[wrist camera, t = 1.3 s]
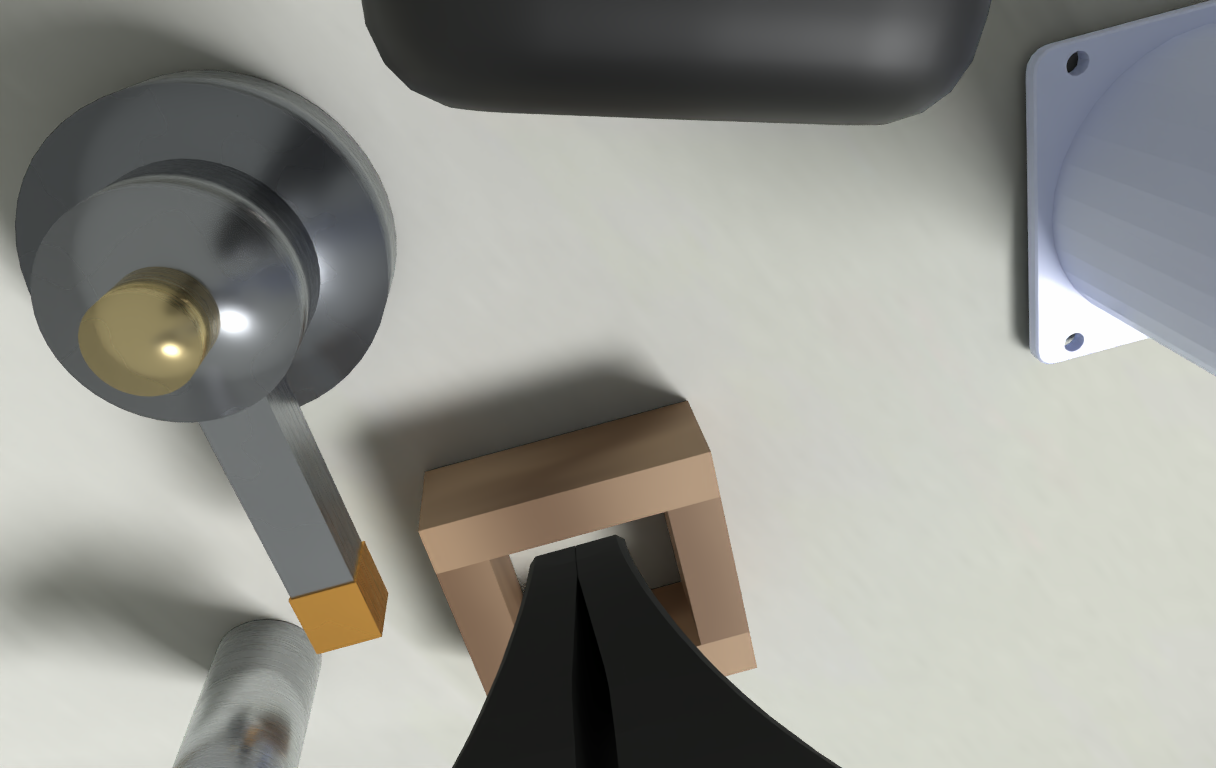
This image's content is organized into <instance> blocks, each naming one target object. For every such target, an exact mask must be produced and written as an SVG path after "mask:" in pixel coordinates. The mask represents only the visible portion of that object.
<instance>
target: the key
mask: <svg viewBox="0 0 1216 768" xmlns="http://www.w3.org/2000/svg"><path fill="white" fill-rule="evenodd" d="M321 662H322V656H321V654H316V652H315V650H314V648H313V646H312V644H311V642H310V640H309V639H308V637H307V635H306V633H305V631H304V630H303V629H301V628H299V627H297V626H295V625H293V624H290V623H287V622H284V621H278V620H256V621H251V622H247V623H244V624H242V625H239V626H237V627H236V628H234V629H232V630H231V631H230V632H229V633H227V634H226V635H225V637H224V638H223V639H222V641H221V642H220V644H219V647H218V649H217V652H216V654H215V657H214V660H213V662H212V665H211V668H210V670H209V673H208V675H207V678H206V681H205V683H204V686H203V689H202V691H201V694H200V696H199V699H198V702H197V704H196V707H195V710H194V712H193V715H192V718H191V720H190V723H189V725H188V728H187V731H186V733H185V736H184V739H183V741H182V744H181V746H180V749H179V752H178V754H177V757H176V760H175V762H174V765H173V768H298V765H299V761H300V756H301V752H302V748H303V743H304V739H305V734H306V730H307V726H308V721H309V717H310V712H311V708H312V703H313V699H314V695H315V690H316V686H317V681H318V677H319V673H320V668H321Z"/></svg>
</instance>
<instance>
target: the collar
mask: <svg viewBox="0 0 1216 768" xmlns="http://www.w3.org/2000/svg"><path fill="white" fill-rule="evenodd" d="M155 266H156V267H167V268H172V269H176V270H179V271H181V272H184V273H186V274H188V275H190V276H192V277H193V278H194V279H196V280H197V281H199V282H200V283H201V284H202V285H203V286H204V287H205V288H206V289H207V290H208V291H209V292H210V294H211V295H212V296H213V298H214V300H215V302H216V304H217V306H218V309H219V313H220V319H221V326H220V332H219V335H218V338H217V340H216V342H215V344H214V345H213V347H212V348H211V350H210V351H209V353H208V354H207V356H206V357H205V358H204V360H203V361H202V363H201V364H200V366H199V367H198V369H197V370H196V372H195V373H194V375H193V376H192V377H191V379H190V380H189V381H188V382H187V383H186V384H185V385H184V386H182V387H181V388H179V389H177V390H175V391H173V392H171V393H168V394H165V395H160V396H151V397H150V396H137V395H132V394H128V393H125V392H122V391H120V390H117V389H115V388H113V387H111V386H110V385H108V384H106V383H105V382H104V381H102V380H101V379H100V378H99V377H98V376H97V375H96V374H94V372H93V371H92V370H91V369H90V368H89V366H88V365H87V363H86V362H85V360H84V358H83V356H82V354H81V351H80V347H79V342H78V332H79V326H80V323H81V320H82V318H83V316H84V315H85V313H86V312H87V311H88V309H89V308H90V307H92V306H93V305H94V304H95V303H96V302H97V301H98V300H99V299H100V298H101V297H102V296H103V295H105V294H106V293H107V292H108V291H109V290H110V289H111V288H112V287H113V286H114V285H116V284H117V283H118V282H119V281H120V280H121V279H122V278H123V277H125V276H126V275H127V274H129V273H131V272H133V271H135V270H138V269H141V268H146V267H155ZM319 293H320V268H319V263H318V258H317V254H316V251H315V248H314V245H313V242H312V240H311V238H310V236H309V234H308V232H307V230H306V228H305V226H304V225H303V223H302V222H301V220H300V219H299V217H298V216H297V214H296V213H295V212H294V211H293V210H292V209H291V207H290V206H289V205H288V204H287V203H286V202H285V201H284V200H283V199H282V198H281V197H280V196H279V195H278V194H277V193H276V192H274V191H273V190H272V189H270V188H269V187H268V186H266V185H265V184H264V183H262V182H260V181H259V180H257V179H255V178H254V177H252V176H250V175H248V174H246V173H244V172H242V171H239V170H237V169H235V168H233V167H229V166H226V165H223V164H220V163H216V162H211V161H206V160H200V159H168V160H163V161H158V162H153V163H150V164H147V165H144V166H141V167H138V168H136V169H134V170H133V171H131V172H129V173H127V174H125V175H123V176H122V177H120V178H118V179H117V180H115V181H114V182H112V183H111V184H109V185H107V186H106V187H104V188H103V189H101V190H99V191H98V192H96V193H95V194H93V195H91V196H90V197H88V198H87V199H85V200H83V201H82V202H80V203H79V204H77V205H76V206H74V207H73V208H72V209H70V210H69V211H67V212H66V213H65V214H63V215H62V216H61V217H60V218H59V219H58V220H57V221H56V222H55V223H54V224H53V225H52V227H51V228H50V230H49V231H48V232H47V234H46V235H45V237H44V238H43V240H42V242H41V244H40V246H39V248H38V250H37V253H36V256H35V260H34V263H33V267H32V274H31V300H32V305H33V310H34V315H35V318H36V320H37V323H38V326H39V329H40V331H41V333H42V335H43V337H44V339H45V341H46V343H47V345H48V346H49V348H50V349H51V351H52V352H53V354H54V355H55V357H56V358H57V360H58V361H59V362H60V363H61V364H62V365H63V367H64V368H65V369H66V370H67V371H68V372H69V373H70V374H71V375H72V376H73V377H74V378H75V379H76V380H77V381H78V382H80V383H81V384H82V385H83V386H85V387H86V388H87V389H89V390H90V391H91V392H93V393H94V394H95V395H97V396H99V397H100V398H102V399H104V400H106V401H107V402H109V403H111V404H113V405H115V406H117V407H119V408H122V409H124V410H126V411H129V412H132V413H135V414H137V415H140V416H144V417H148V418H152V419H157V420H163V421H170V422H199V424H200V426H201V428H202V430H203V432H204V434H205V436H206V438H207V439H208V441H209V443H210V445H211V447H212V449H213V451H214V453H215V455H216V457H217V458H218V460H219V462H220V464H221V466H222V468H223V470H224V472H225V474H226V476H227V478H228V479H229V481H230V483H231V485H232V487H233V489H234V491H235V493H236V495H237V497H238V498H239V500H240V502H241V504H242V506H243V508H244V510H245V512H246V514H247V516H248V517H249V519H250V521H251V523H252V525H253V527H254V529H255V531H256V533H257V535H258V536H259V538H260V540H261V542H262V544H263V546H264V548H265V550H266V552H267V554H268V555H269V557H270V559H271V561H272V563H273V565H274V567H275V569H276V571H277V573H278V574H279V576H280V578H281V580H282V582H283V584H284V586H285V588H286V590H287V592H288V593H289V595H290V598H289V603H290V605H291V606H292V608H293V610H294V612H295V614H296V616H297V618H298V620H299V622H300V623H301V625H302V627H303V629H304V631H305V633H306V635H307V637H308V639H309V640H310V642H311V644H312V646H313V648H314V650H315V652H316V654H321V653H324V652H328V651H332V650H335V649H339V648H342V647H346V646H350V645H353V644H357V643H361V642H364V641H368V640H372V639H375V638H379V637H382V632H383V625H384V619H385V612H386V605H387V598H388V592H387V589H386V587H385V585H384V583H383V581H382V578H381V576H380V574H379V572H378V570H377V568H376V565H375V563H374V561H373V559H372V557H371V554H370V552H369V550H368V548H367V546H366V543H365V541H363V542H361V540H360V537H359V535H358V533H357V531H356V529H355V527H354V524H353V522H352V520H351V518H350V516H349V513H348V511H347V509H346V507H345V505H344V503H343V500H342V498H341V496H340V494H339V492H338V490H337V487H336V485H335V483H334V481H333V479H332V476H331V474H330V472H329V470H328V468H327V466H326V463H325V461H324V459H323V457H322V455H321V453H320V450H319V448H318V446H317V444H316V442H315V439H314V437H313V435H312V433H311V431H310V429H309V426H308V424H307V422H306V420H305V418H304V416H303V413H302V411H301V409H300V407H299V405H298V402H297V400H296V398H295V396H294V394H293V392H292V389H291V387H290V385H289V383H288V381H287V379H286V376H285V374H286V372H287V371H288V369H289V367H290V366H291V363H292V361H293V359H294V357H295V355H296V353H297V350H298V348H299V346H300V344H301V342H302V340H303V337H304V335H305V333H306V331H307V329H308V327H309V325H310V322H311V320H312V318H313V315H314V313H315V310H316V307H317V303H318V299H319Z"/></svg>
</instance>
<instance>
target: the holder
mask: <svg viewBox="0 0 1216 768" xmlns="http://www.w3.org/2000/svg"><path fill="white" fill-rule="evenodd" d="M663 512H664V515H665V519H666V523H667V527H668V531H669V535H670V539H671V543H672V547H673V550H674V554H675V558H676V562H677V566H678V570H679V574H680V578H681V582H678V583H674V584H671V585H667V586H663V587H660V588H656V589H652V590H651V591H652V592H653V594H654V595H655V597H656V598H657V599H658V601H659V602H660V603H661V605H662V606H663V607H664V608H665V610H666V611H667V612H668V614H669V615H670V616H671V617H672V619H673V620H674V621H675V623H676V624H677V625H678V626H679V627H680V629H681V630H682V631H683V632H684V633H685V635H686V636H687V637H688V638H689V639H690V640H691V641H692V642H693V644H694V645H695V646H696V647H697V648H698V649H699V650H700V651H701V652H702V653H703V655H704V656H705V657H706V658H707V659H708V660H709V661H710V662H711V663H712V664H713V665H714V666H715V667H716V668H717V669H718V670H719V671H720V672H721V673H722V674H723V675H724V676H728V675H732V674H735V673H739V672H743V671H746V670H750V669H754V668H757V665H756V660H755V656H754V651H753V646H752V642H751V637H750V632H749V628H748V623H747V618H746V614H745V609H744V604H743V600H742V595H741V590H740V586H739V581H738V576H737V572H736V567H735V562H734V558H733V553H732V548H731V544H730V539H729V534H728V530H727V525H726V520H725V516H724V511H723V506H722V502H721V497H720V492H719V488H718V483H717V479H716V474H715V469H714V465H713V460H712V455H711V451H710V449H709V447H708V445H707V442H706V440H705V438H704V436H703V433H702V431H701V429H700V427H699V425H698V422H697V420H696V418H695V416H694V414H693V411H692V409H691V407H690V405H689V403H688V401H684V402H680V403H677V404H673V405H669V406H665V407H662V408H658V409H654V410H651V411H647V412H643V413H640V414H636V415H632V416H629V417H625V418H621V419H618V420H614V421H610V422H607V423H603V424H599V425H596V426H592V427H588V428H585V429H581V430H577V431H574V432H570V433H566V434H562V435H559V436H555V437H551V438H548V439H544V440H540V441H537V442H533V443H529V444H526V445H522V446H518V447H515V448H511V449H507V450H504V451H500V452H496V453H493V454H489V455H485V456H482V457H478V458H474V459H471V460H467V461H463V462H460V463H456V464H452V465H448V466H445V467H441V468H437V469H434V470H430V471H426V472H425V474H424V483H423V492H422V501H421V510H420V519H419V528H418V532H419V535H420V537H421V540H422V542H423V544H424V547H425V549H426V551H427V554H428V556H429V559H430V561H431V563H432V566H433V568H434V571H435V573H436V575H437V578H438V580H439V583H440V585H441V587H442V590H443V592H444V594H445V597H446V599H447V602H448V604H449V606H450V609H451V611H452V614H453V616H454V618H455V621H456V623H457V625H458V628H459V630H460V633H461V635H462V637H463V640H464V642H465V645H466V647H467V649H468V652H469V654H470V657H471V659H472V661H473V664H474V666H475V668H476V671H477V673H478V676H479V678H480V680H481V683H482V685H483V688H484V690H485V692H486V695H488V693H489V691H490V688H491V686H492V684H493V681H494V679H495V677H496V674H497V672H498V669H499V667H500V664H501V662H502V659H503V656H504V653H505V650H506V648H507V645H508V642H509V639H510V636H511V633H512V631H513V628H514V625H515V622H516V618H517V615H518V612H519V609H520V605H521V602H522V598H523V593H522V590H521V587H520V584H519V582H518V579H517V576H516V573H515V571H514V568H513V565H512V562H511V560H510V557H509V554H512V553H516V552H520V551H523V550H527V549H531V548H534V547H538V546H542V545H545V544H549V543H553V542H556V541H560V540H564V539H567V538H571V537H575V536H578V535H582V534H586V533H589V532H593V531H597V530H600V529H604V528H608V527H611V526H615V525H619V524H622V523H626V522H630V521H633V520H637V519H641V518H644V517H648V516H652V515H655V514H659V513H663Z"/></svg>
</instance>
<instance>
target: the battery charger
mask: <svg viewBox="0 0 1216 768" xmlns="http://www.w3.org/2000/svg"><path fill="white" fill-rule="evenodd" d="M990 3H991V0H362V6H363V12H364V18H365V24H366V27H367V29H368V31H369V33H370V35H371V37H372V39H373V41H374V43H375V45H376V47H377V49H378V51H379V54H380V56H381V58H382V60H383V62H384V63H385V65H386V66H387V67H388V68H389V69H390V70H391V71H392V72H393V73H394V74H395V75H396V76H397V77H398V78H399V79H400V80H401V81H402V82H403V83H404V84H405V85H406V86H407V87H408V88H409V89H410V90H412V91H415V92H417V93H419V94H421V95H423V96H426V97H428V98H430V99H432V100H434V101H436V102H439V103H441V104H443V105H445V106H448V107H451V108H458V109H466V110H475V111H486V112H501V113H524V114H550V115H575V116H601V117H627V118H652V119H678V120H707V121H737V122H766V123H795V124H825V125H882V124H888V123H891V122H894V121H897V120H900V119H903V118H906V117H910V116H913V115H916V114H919V113H922V112H924V111H925V110H926V109H928V108H929V107H930V106H932V105H933V104H935V103H936V102H937V101H939V100H940V99H941V98H943V97H944V96H946V95H947V94H948V93H950V92H951V91H952V89H953V88H954V86H955V85H956V84H957V82H958V81H959V79H960V78H961V76H962V75H963V74H964V72H965V71H966V69H967V68H968V66H969V65H970V64H971V62H972V61H973V58H974V55H975V52H976V49H977V46H978V43H979V40H980V37H981V34H982V31H983V28H984V25H985V22H986V19H987V16H988V12H989V8H990Z"/></svg>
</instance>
